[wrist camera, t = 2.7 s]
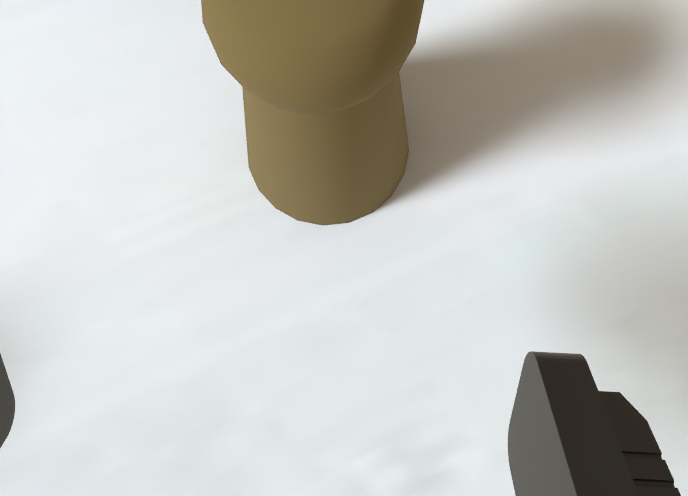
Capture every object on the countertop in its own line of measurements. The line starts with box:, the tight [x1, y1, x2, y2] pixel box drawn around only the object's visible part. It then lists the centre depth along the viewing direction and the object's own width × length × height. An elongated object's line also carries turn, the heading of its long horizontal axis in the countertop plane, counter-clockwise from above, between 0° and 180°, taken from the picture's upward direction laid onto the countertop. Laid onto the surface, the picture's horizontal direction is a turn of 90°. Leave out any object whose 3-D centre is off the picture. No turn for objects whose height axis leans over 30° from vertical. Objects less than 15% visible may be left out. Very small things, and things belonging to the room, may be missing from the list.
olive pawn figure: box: [201, 0, 424, 225], centre depth 19 cm, size 6×6×11 cm
